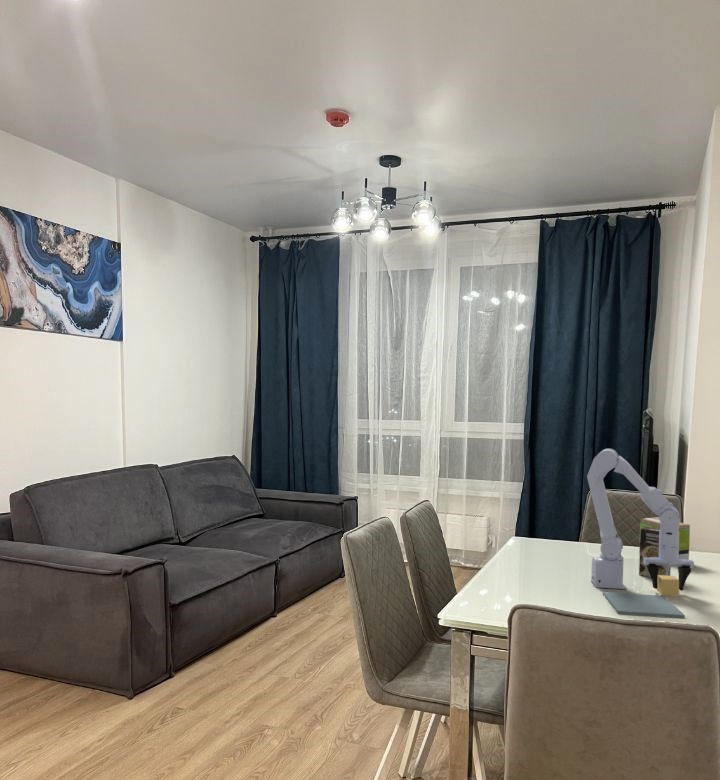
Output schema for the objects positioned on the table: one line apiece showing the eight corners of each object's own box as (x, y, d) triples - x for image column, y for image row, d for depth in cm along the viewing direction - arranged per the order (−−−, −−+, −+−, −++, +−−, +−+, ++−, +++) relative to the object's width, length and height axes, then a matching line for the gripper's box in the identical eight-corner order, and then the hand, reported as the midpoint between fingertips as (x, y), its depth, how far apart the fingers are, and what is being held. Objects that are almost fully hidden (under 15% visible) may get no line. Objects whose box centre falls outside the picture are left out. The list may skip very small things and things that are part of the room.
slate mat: (617, 613, 188) (617, 610, 188) (602, 594, 206) (602, 591, 206) (684, 618, 186) (684, 615, 186) (663, 598, 204) (663, 595, 204)
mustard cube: (661, 595, 207) (662, 579, 207) (656, 590, 212) (657, 575, 212) (678, 596, 206) (679, 580, 206) (673, 591, 211) (673, 576, 211)
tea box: (638, 556, 258) (639, 517, 258) (656, 553, 262) (657, 516, 262) (670, 565, 244) (671, 525, 244) (689, 563, 248) (690, 523, 248)
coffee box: (638, 575, 229) (639, 528, 229) (643, 571, 234) (644, 525, 234) (666, 580, 224) (667, 532, 224) (671, 576, 229) (672, 529, 229)
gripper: (648, 547, 206) (647, 590, 206) (698, 549, 204) (696, 593, 204) (641, 542, 213) (640, 584, 213) (689, 544, 211) (688, 587, 211)
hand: (667, 588), depth 209 cm, fingers open, 7 cm apart
